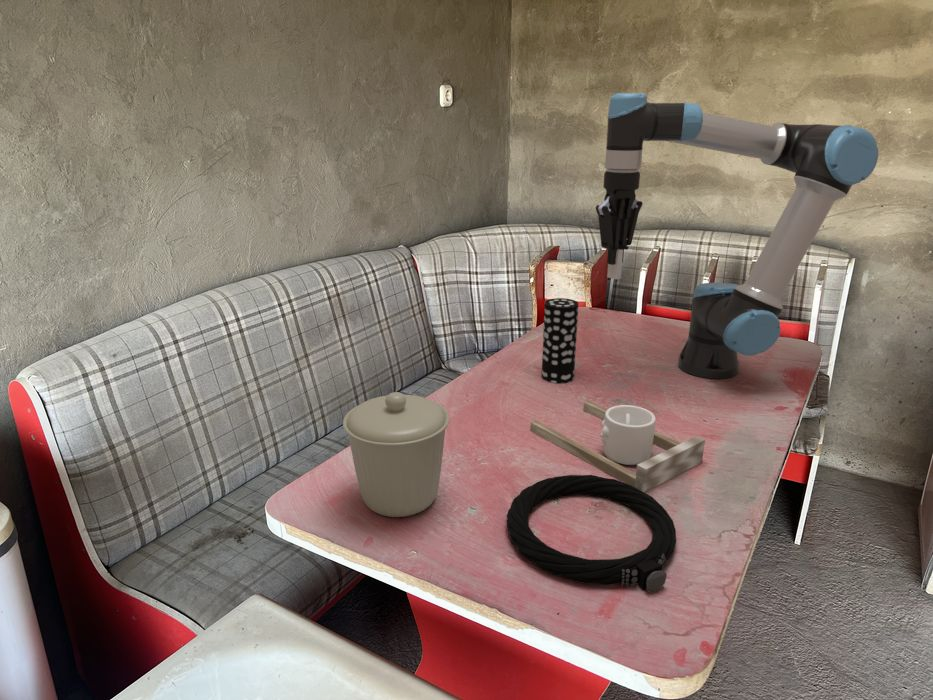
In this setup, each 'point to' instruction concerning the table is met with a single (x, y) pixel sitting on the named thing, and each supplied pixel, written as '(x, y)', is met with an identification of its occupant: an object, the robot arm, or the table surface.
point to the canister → (397, 451)
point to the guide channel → (647, 472)
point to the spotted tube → (559, 340)
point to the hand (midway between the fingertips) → (613, 277)
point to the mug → (628, 434)
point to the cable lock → (625, 570)
